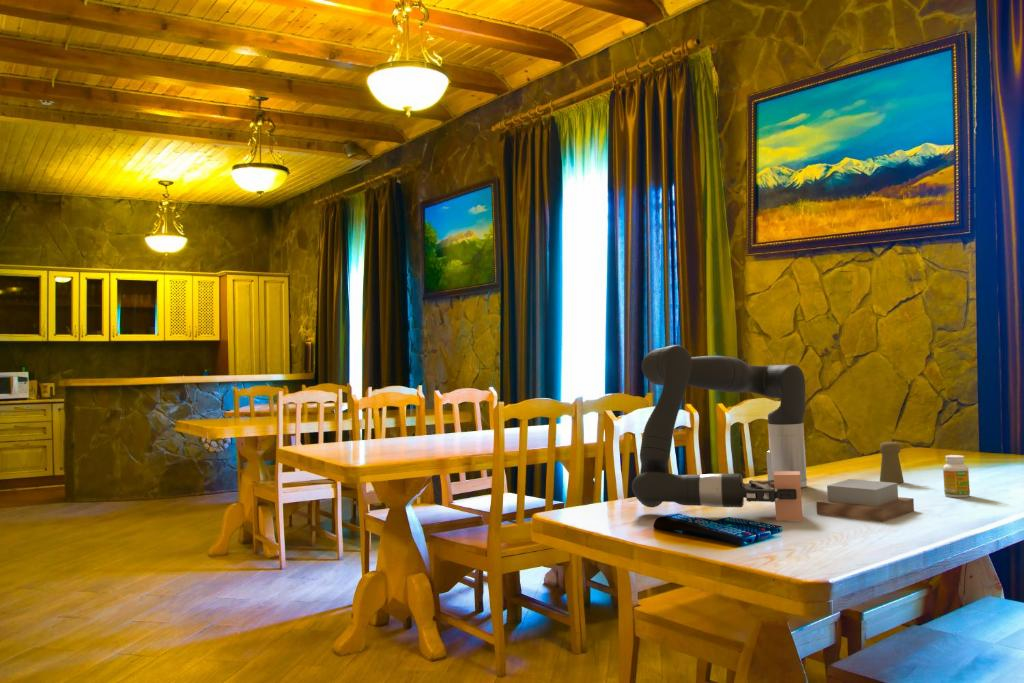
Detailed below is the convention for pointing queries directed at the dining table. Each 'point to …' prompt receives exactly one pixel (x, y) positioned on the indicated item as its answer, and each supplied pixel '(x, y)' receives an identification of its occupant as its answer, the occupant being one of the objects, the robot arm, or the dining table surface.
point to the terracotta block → (788, 507)
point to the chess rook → (890, 463)
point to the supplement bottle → (956, 477)
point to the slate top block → (862, 492)
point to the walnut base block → (867, 509)
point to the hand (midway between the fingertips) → (796, 490)
